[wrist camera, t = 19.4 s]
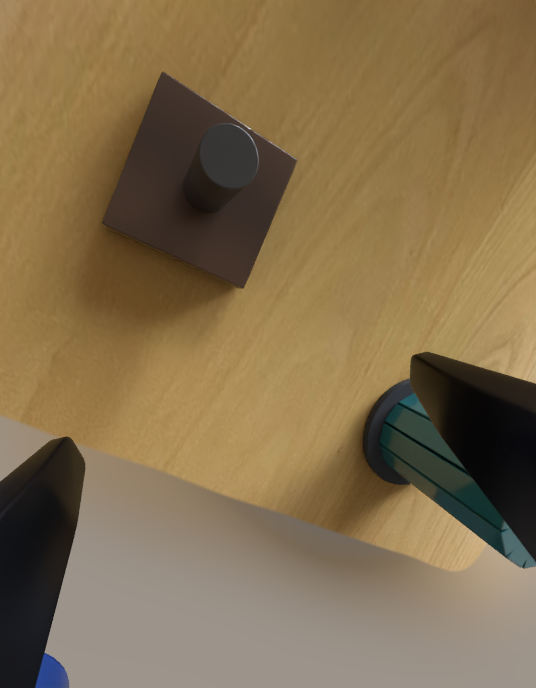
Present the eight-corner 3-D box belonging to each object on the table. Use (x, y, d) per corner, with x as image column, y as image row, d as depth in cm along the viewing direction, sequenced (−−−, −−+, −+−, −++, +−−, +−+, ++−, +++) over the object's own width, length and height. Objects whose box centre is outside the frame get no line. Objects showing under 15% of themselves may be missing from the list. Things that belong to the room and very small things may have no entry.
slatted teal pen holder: (372, 473, 27) (489, 576, 18) (389, 390, 26) (522, 453, 17) (438, 470, 30) (572, 559, 20) (456, 393, 29) (605, 450, 19)
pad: (389, 501, 29) (394, 505, 29) (344, 423, 26) (348, 427, 26) (465, 435, 31) (471, 438, 30) (431, 355, 28) (436, 357, 27)
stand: (237, 288, 22) (276, 293, 15) (104, 227, 19) (82, 201, 12) (288, 167, 21) (350, 119, 15) (160, 85, 18) (169, -20, 12)
